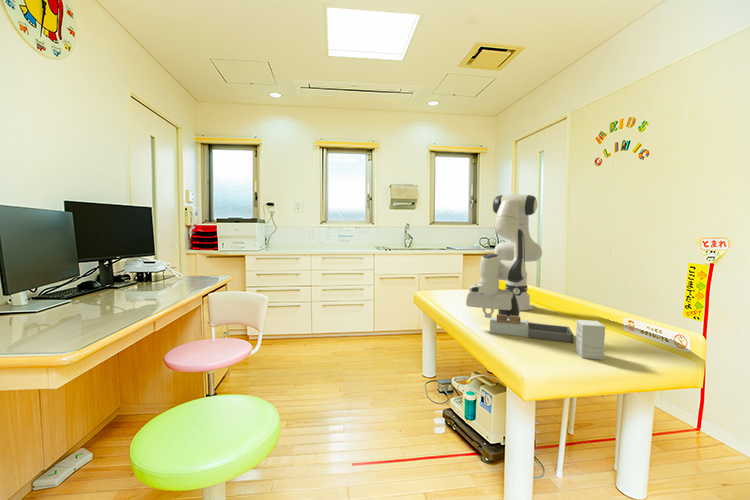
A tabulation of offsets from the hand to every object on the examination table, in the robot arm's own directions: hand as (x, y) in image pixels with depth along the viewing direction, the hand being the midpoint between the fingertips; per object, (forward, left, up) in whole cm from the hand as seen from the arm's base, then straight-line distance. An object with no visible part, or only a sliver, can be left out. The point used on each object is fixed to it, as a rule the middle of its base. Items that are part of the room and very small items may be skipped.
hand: (488, 317), depth 154 cm
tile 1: (0, +6, -1) cm, 6 cm away
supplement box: (+19, +37, -6) cm, 42 cm away
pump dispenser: (-19, +9, -6) cm, 22 cm away
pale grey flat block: (0, +9, -6) cm, 11 cm away
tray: (0, +26, -6) cm, 26 cm away
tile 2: (0, +12, -1) cm, 12 cm away
